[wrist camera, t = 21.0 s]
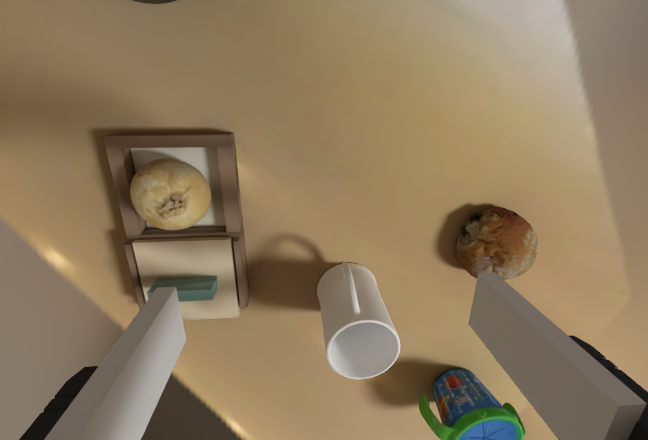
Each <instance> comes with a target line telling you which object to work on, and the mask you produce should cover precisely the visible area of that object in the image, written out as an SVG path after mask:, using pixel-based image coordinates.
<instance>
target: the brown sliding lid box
mask: <svg viewBox="0 0 648 440" xmlns="http://www.w3.org/2000/svg"><path fill="white" fill-rule="evenodd" d="M103 140H104V144H105V148H106V152H107V157H108V161H109V165H110V169H111V173H112V178H113V182H114V186H115V190H116V194H117V199H118V203H119V207H120V211H121V215H122V220H123V224H124V228H125V232H126V236H127V241H128V242H127V243H125V244H124V248H125V252H126V256H127V260H128V264H129V268H130V272H131V276H132V280H133V285H134V289H135V293H136V297H137V301H138V305H139V309H140V310H141V308H142V307H143V306H144V304H145V303H146V300H145V296H144V292H143V288H142V283H141V279H140V275H139V270H138V266H137V262H136V258H135V253H134V249H133V245H132V242H134V241H135V240H148V239H179V238H209V237H231V239H232V248H233V257H234V266H235V275H236V284H237V293H238V302H239V308H240V307H241V309H245V308H246V307H247V306H248V302H249V297H250V293H249V283H248V273H247V262H246V252H245V242H244V231H243V221H242V210H241V200H240V190H239V179H238V169H237V159H236V148H235V138H234V133H167V134H112V135H107V136H103ZM157 159H175V160H180V161H182V162H186V163H188V164H190V165H192V166H193V167H195V168H196V169H198V170H199V171H200V172H201V173H202V174H203V176H204V177H205V179H206V180H207V182H208V184H209V187H210V192H211V201H210V206H209V209H208V211H207V213H206V215H205V216H204V217H203V218H202V219H201V220H200V221H198V222H197V223H195V224H194V225H192V226H191V227H189V228H185V229H180V230H164V229H160V228H157V227H155V226H152V225H151V224H149V223H147V222H146V221H145V220H144V219H143V218H141V216H140V215H139V214H138V213H137V212H136V210H135V208H134V206H133V204H132V200H131V196H130V186H131V182H132V179H133V177H134V175H135V174H136V173H137V171H138V170H139V169H140V168H142V167H143V166H144V165H146V164H148V163H149V162H151V161H154V160H157Z"/></svg>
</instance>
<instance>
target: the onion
mask: <svg viewBox="0 0 648 440" xmlns="http://www.w3.org/2000/svg"><path fill="white" fill-rule="evenodd" d="M130 196H131V200H132V204H133V206H134V208H135V210H136V212H137V213H138V214H139V215H140V216H141V218H143V219H144V220H145V221H146V222H147V223H149V224H151V225H152V226H155V227H157V228H160V229H164V230H180V229H185V228H189V227H191V226H192V225H194V224H195V223H197V222H198V221H200V220H201V219H202V218H203V217H204V216H205V215H206V213H207V211H208V209H209V206H210V201H211V192H210V187H209V184H208V182H207V180H206V179H205V177H204V176H203V174H202V173H201V172H200V171H199V170H198V169H196V168H195V167H193V166H192V165H190V164H188V163H186V162H182V161H180V160H175V159H157V160H154V161H151V162H149V163H148V164H146V165H144V166H143V167H142V168H140V169H139V170H138V171H137V173H136V174H135V175H134V177H133V179H132V182H131V186H130Z"/></svg>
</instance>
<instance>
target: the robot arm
mask: <svg viewBox="0 0 648 440" xmlns="http://www.w3.org/2000/svg"><path fill="white" fill-rule="evenodd" d="M134 1H138V2H143V3H152V4H160V3H168V2H172V1H176V0H134ZM469 325H470V326H471V328H472V329H473V330H474V331H475V333H476V334H477V335H478V337H479V338H480V339H481V340H482V342H483V343H484V344H485V346H486V347H487V348H488V349H489V351H490V352H491V353H492V355H493V356H494V357H495V359H496V360H497V361H498V362H499V364H500V365H501V366H502V368H503V369H504V370H505V371H506V373H507V374H508V375H509V377H510V378H511V379H512V380H513V382H514V383H515V384H516V386H517V387H518V388H519V389H520V391H521V392H522V393H523V395H524V396H525V397H526V398H527V400H528V401H529V402H530V404H531V405H532V406H533V407H534V409H535V410H536V411H537V413H538V414H539V415H540V416H541V418H542V419H543V420H544V422H545V423H546V424H547V425H548V427H549V428H550V429H551V431H552V432H553V433H554V434H555V436H556V437H557V438H558V439H559V440H648V392H647V391H646V390H644V389H643V388H642V387H641V386H640V385H638V384H637V383H636V382H635V381H633V380H632V379H631V378H630V377H629V376H627V375H626V374H625V373H624V372H623V371H621V370H618V367H617V366H615V365H614V364H613V363H612V362H611V361H609V360H606V357H604V356H603V355H602V354H601V353H600V352H598V351H597V350H596V349H595V348H594V347H592V346H591V345H589V344H588V343H586V342H584V341H582V340H580V339H579V338H577V337H575V336H568V335H567V334H565V333H564V332H563V331H562V330H561V329H560V328H558V327H557V326H556V325H555V324H554V323H553V322H551V321H550V320H549V319H548V318H547V317H546V316H544V315H543V314H542V313H541V312H540V311H539V310H538V309H536V308H535V307H534V306H533V305H532V304H531V303H529V302H528V301H527V300H526V299H525V298H524V297H522V296H521V295H520V294H519V293H518V292H517V291H515V290H514V289H513V288H512V287H511V286H510V285H509V284H507V283H506V282H505V281H504V280H503V279H502V278H500V277H499V276H498V275H497V274H496V273H478V278H477V283H476V288H475V293H474V298H473V304H472V309H471V314H470V319H469ZM185 341H186V337H185V331H184V326H183V321H182V316H181V310H180V305H179V300H178V294H177V289H176V287H160V288H156V290H155V291H154V292H153V294H152V295H151V296H150V298H149V299H148V300H147V302H146V303H145V304H144V306H143V307H142V308H141V310H140V311H139V313H138V314H137V315H136V317H135V318H134V319H133V321H132V322H131V323H130V325H129V326H128V327H127V329H126V330H125V331H124V333H123V334H122V336H121V337H120V338H119V340H118V341H117V342H116V343H115V345H114V346H113V348H112V349H111V350H110V352H109V353H108V354H107V356H106V357H105V359H104V360H103V361H102V362H101V364H100V365H99V366H93V367H84V368H83V369H82V370H80V371H79V372H78V373H77V374H75V375H74V376H73V377H71V378H70V379H69V380H68V381H67V382H66V383H65V384H64V385H63V387H62V388H61V389H60V390H59V392H58V393H57V394H56V395H55V398H54V399H52V400H51V401H50V403H49V404H48V405H47V406H46V407H45V409H44V412H43V413H41V414H40V415H39V416H38V417H37V419H36V420H35V421H34V422H33V424H32V425H31V426H30V427H29V428H28V430H27V431H26V432H25V433H24V434H23V436H22V437H21V438H20V439H19V440H141V438H142V436H143V433H144V431H145V429H146V427H147V425H148V422H149V420H150V418H151V416H152V414H153V411H154V409H155V407H156V405H157V402H158V401H159V398H160V396H161V394H162V392H163V390H164V387H165V385H166V383H167V381H168V379H169V376H170V374H171V372H172V370H173V368H174V366H175V363H176V361H177V359H178V357H179V355H180V352H181V350H182V348H183V346H184V344H185Z"/></svg>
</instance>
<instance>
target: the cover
mask: <svg viewBox="0 0 648 440" xmlns="http://www.w3.org/2000/svg"><path fill="white" fill-rule="evenodd" d="M132 245H133V249H134V253H135V258H136V262H137V266H138V270H139V275H140V279H141V283H142V288H143V292H144V296H145V300H146V302H147V300H148V299H149V298H150V296H151V295H152V294H153V292H154V291H155V290H156V288H160V287H176V289H177V294H178V300H179V305H180V310H181V316H182V320H195V319H214V318H233V317H239V315H240V310H239V302H238V293H237V284H236V275H235V266H234V257H233V248H232V239H231V237H209V238H179V239H148V240H135V241H134V242H132Z"/></svg>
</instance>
